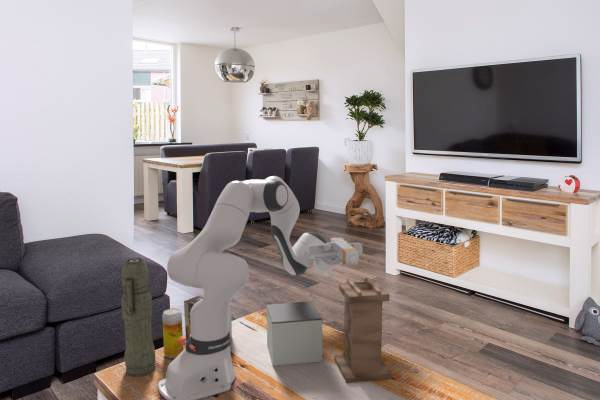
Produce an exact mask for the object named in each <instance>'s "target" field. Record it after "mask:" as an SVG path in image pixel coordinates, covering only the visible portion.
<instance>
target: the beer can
mask: <svg viewBox="0 0 600 400" xmlns="http://www.w3.org/2000/svg"><path fill="white" fill-rule="evenodd" d="M182 317H183V315H182V312H181V310H180V309H179V308H168V309H165V310H164V311H163V314H162V317H161V318H162V332H163V333H162V335H163V337H162V338H163V352H164V356H166V358H169V359H175V358H176V357H177V356H178V355H179V354H180V353H181V352H182V351H183V350H184V345H182V344H181V343H179V339H180V337H182V336H183V335H184V334H183V318H182ZM183 337H184V336H183Z"/></svg>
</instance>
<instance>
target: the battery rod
mask: <svg viewBox="0 0 600 400" xmlns="http://www.w3.org/2000/svg"><path fill="white" fill-rule="evenodd" d="M330 243H333V246H334V248H333V249H331V250H332V251H333V252H334V253H335V254H336V255H337V256H338V257H339V258H340V259H341V260H342V261H343V262H344V264H345V265H357V264H359V256H358V251H357V250H356V249H355V248H353V247H352V246H351V245H350V244H349V242H348V243H347V240H345V239H344V238H343V237H330Z"/></svg>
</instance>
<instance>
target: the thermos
mask: <svg viewBox="0 0 600 400" xmlns="http://www.w3.org/2000/svg"><path fill="white" fill-rule="evenodd" d="M149 279H150V278H149V268H148V265H147V262H146V260H145V259H143V258H141V257H140V258H139V257H136V258H135V257H134V258H129V259H126V260H125V261H123V263H122V268H121V285H122V289H123V290H122V297H121V300H120V303H121V316H122V318H121V319H122V320H123V321H124V322H123V323H124V338H125V350H124V363H125V364H124V365H125V372H126V374H127V375H128V376H131V377H143V376H146V375H149V374H151V373H153V372H154V370H156V350H155V345H154V342H153V341H154V340H153V327H152V326H153V325H152V316H153V314H154V313H153V297H152V295H151V292H150V288H149V284H150V282H149V281H150V280H149Z"/></svg>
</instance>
